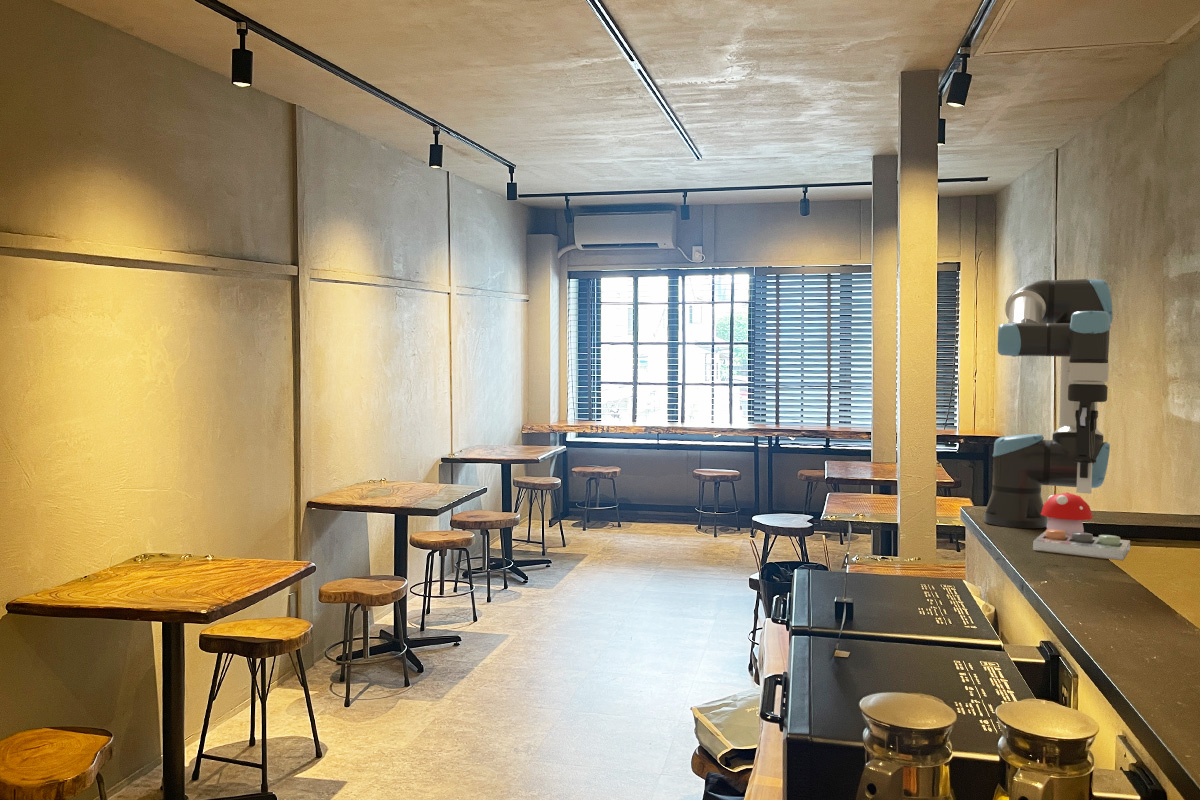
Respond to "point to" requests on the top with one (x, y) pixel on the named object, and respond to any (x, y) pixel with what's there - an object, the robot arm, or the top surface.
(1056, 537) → the button terracotta
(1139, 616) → the top surface
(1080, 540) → the button charcoal
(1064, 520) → the mushroom
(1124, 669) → the top surface
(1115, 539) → the button sage
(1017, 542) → the top surface
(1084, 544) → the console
